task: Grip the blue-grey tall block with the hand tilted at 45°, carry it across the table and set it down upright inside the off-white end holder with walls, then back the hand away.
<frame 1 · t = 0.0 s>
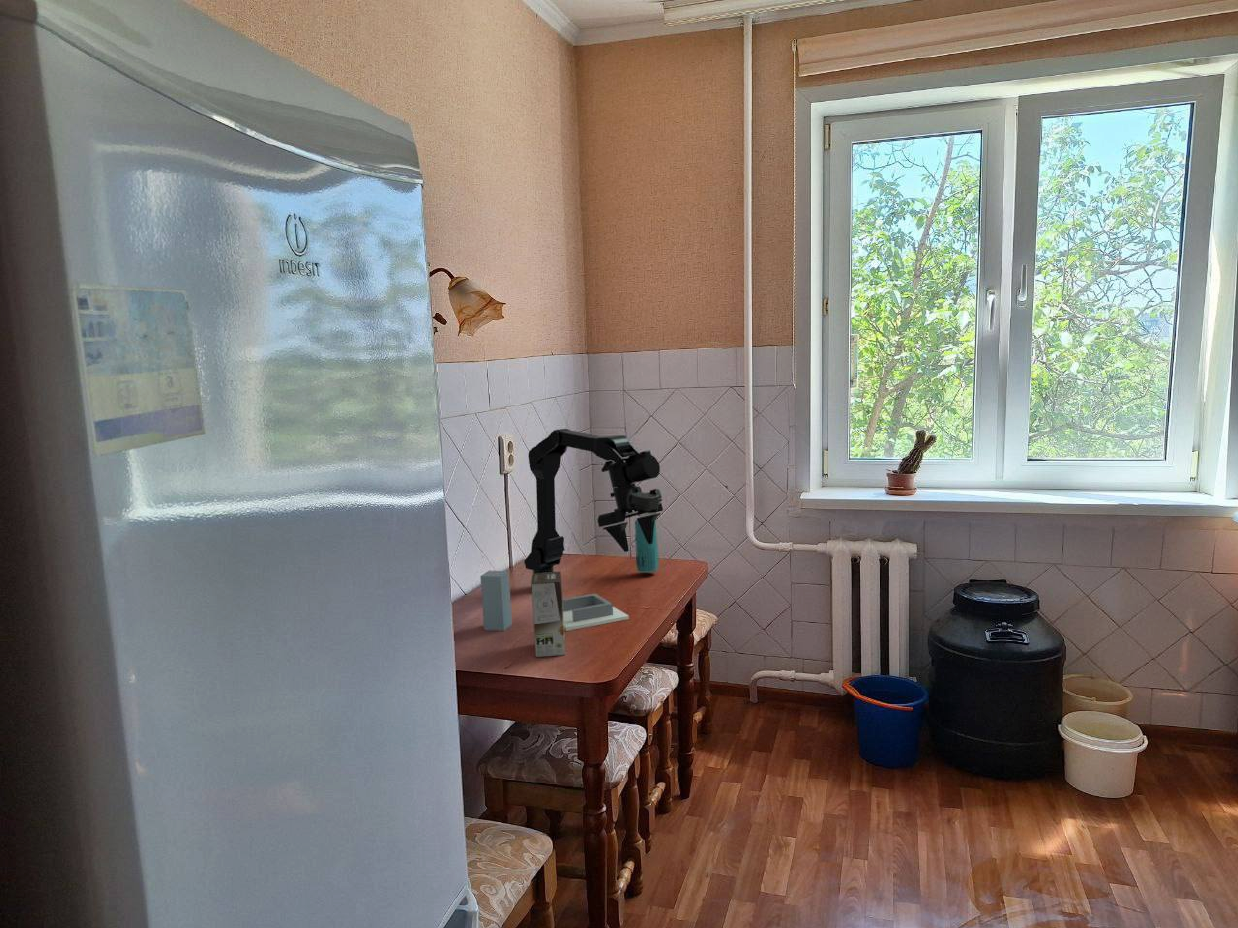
hand: (638, 547, 203), 15 cm above the table, tool pointing down, fingers open, 9 cm apart
coffee box: (550, 650, 179), on the table
end holder: (585, 615, 201), on the table
blue-grey tall block: (498, 626, 196), on the table
beverage bottle: (647, 575, 237), on the table
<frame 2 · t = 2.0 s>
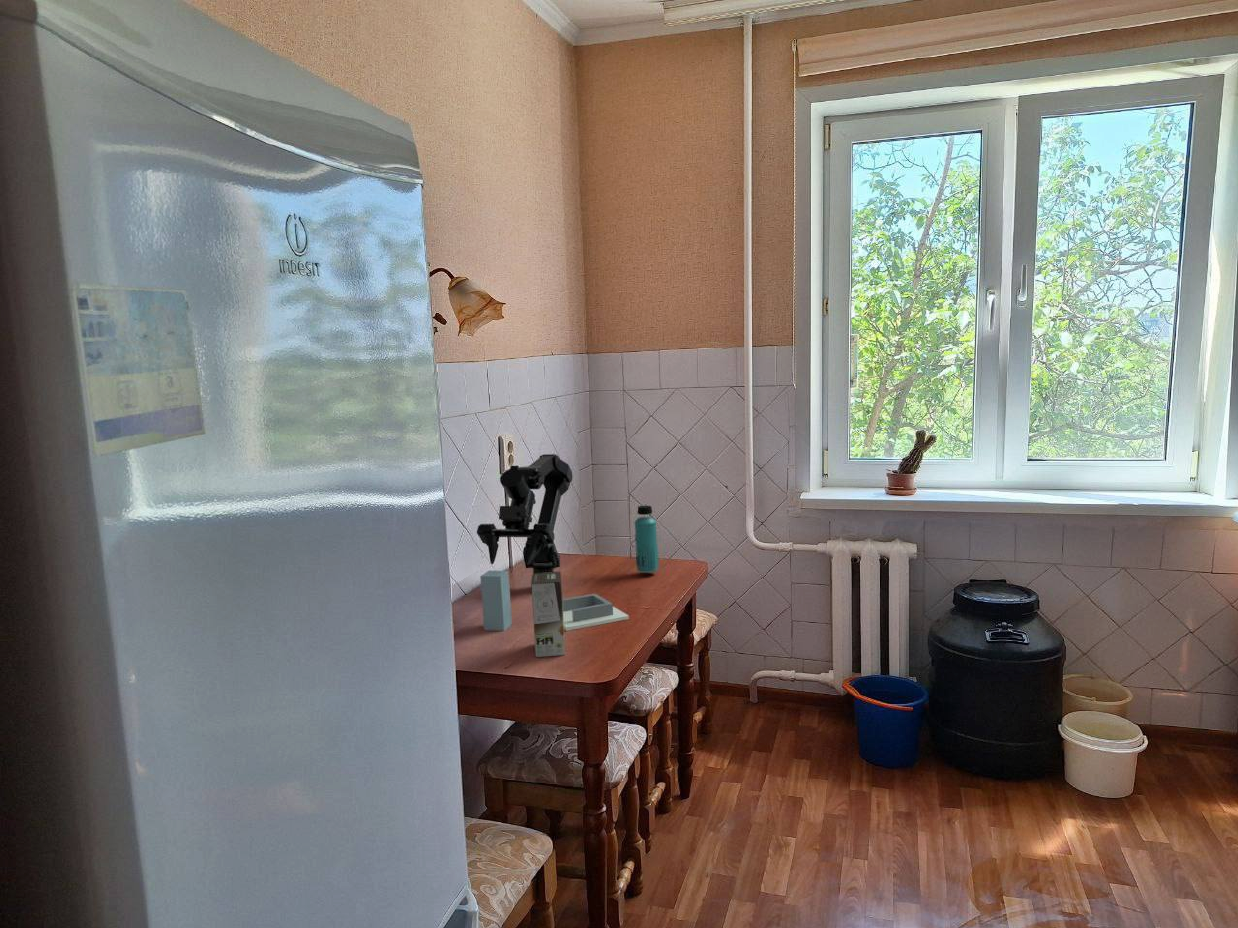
hand: (509, 563, 201), 13 cm above the table, tool tilted 45°, fingers open, 9 cm apart
nothing on the table moved.
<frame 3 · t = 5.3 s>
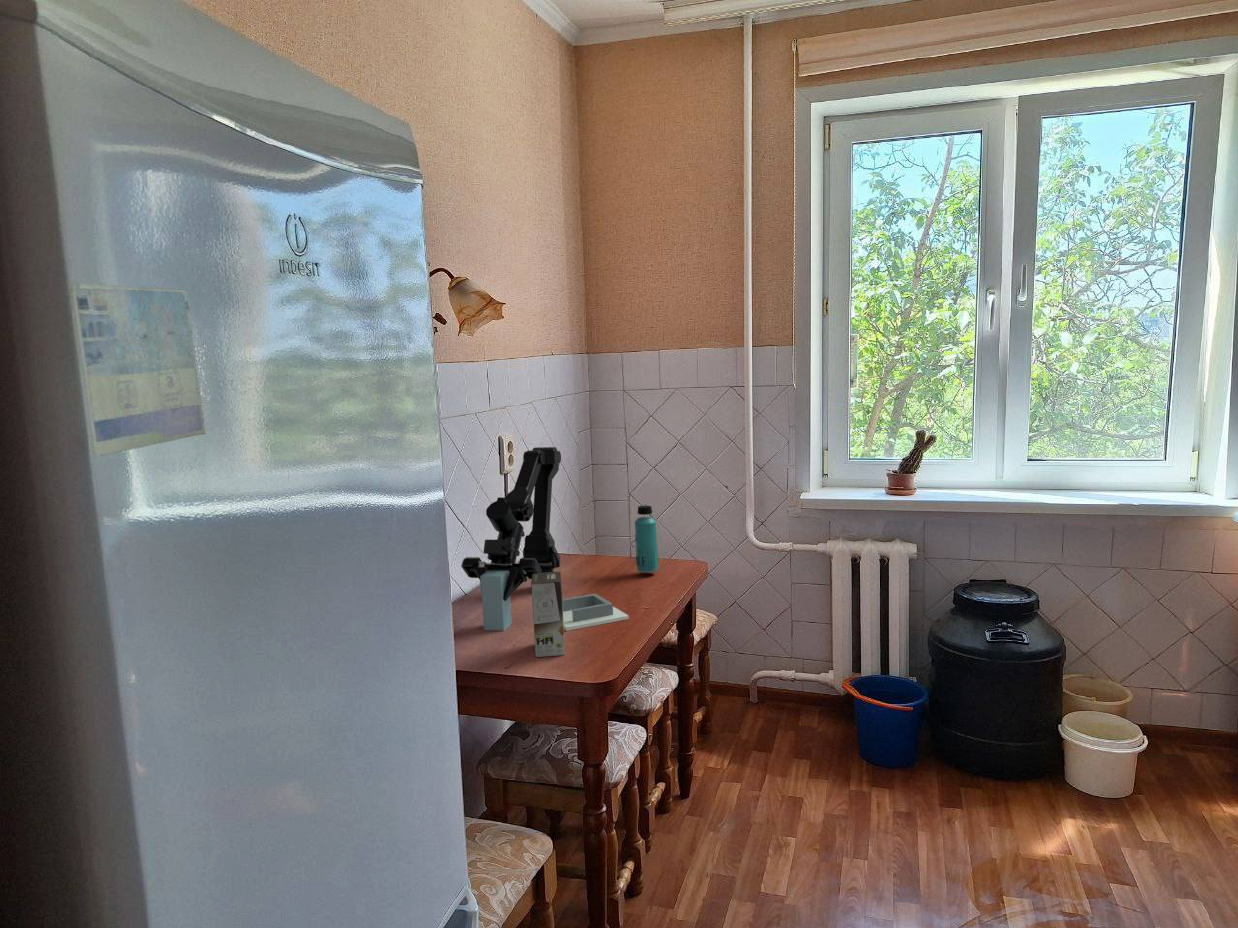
hand: (493, 599, 194), 7 cm above the table, tool tilted 45°, fingers closed on blue-grey tall block, 5 cm apart
blue-grey tall block: (498, 626, 196), on the table, touching gripper
everything else where it was.
when the fingers open (9 cm above the table, at t = 10.0 s): blue-grey tall block stays where it is, resting on end holder.
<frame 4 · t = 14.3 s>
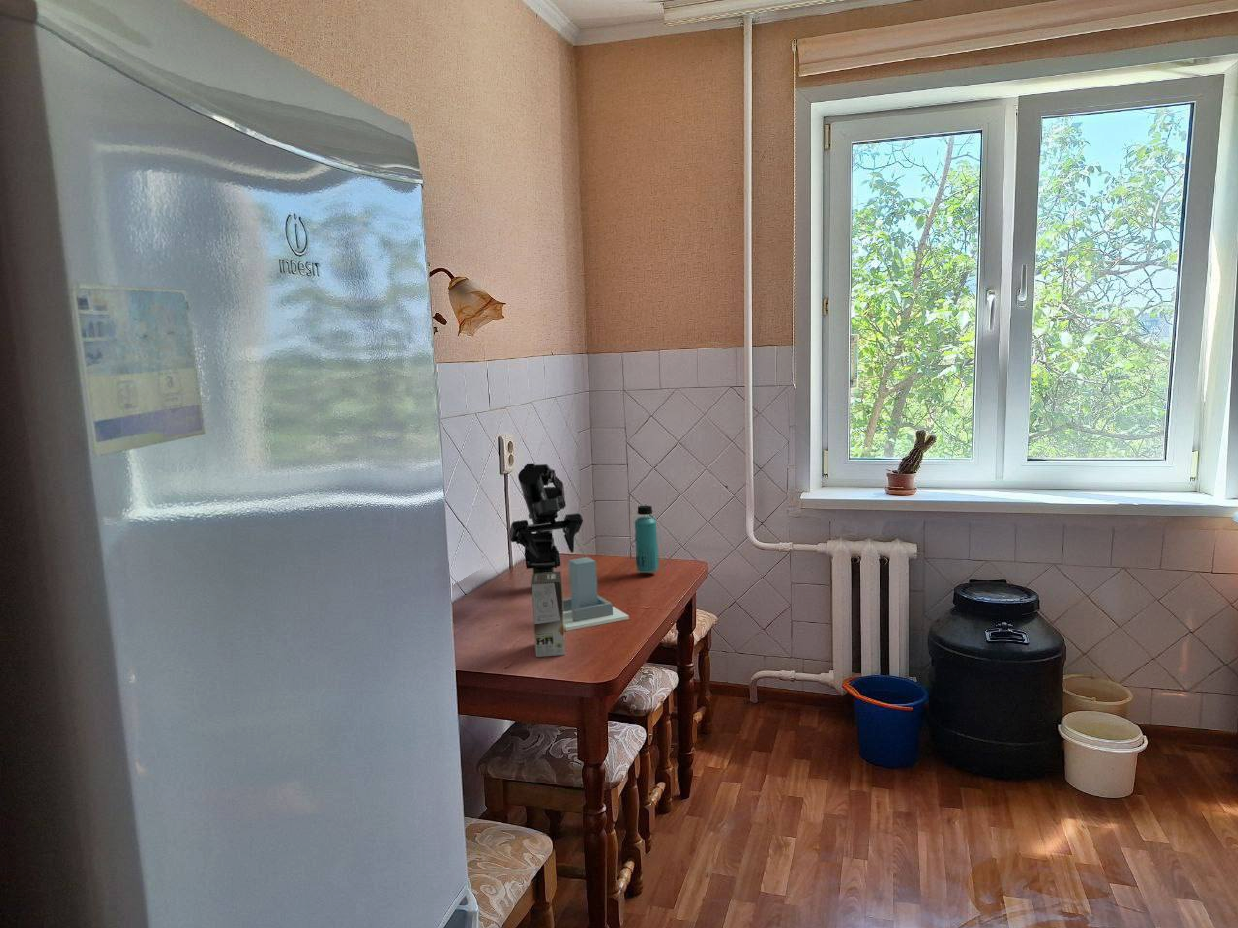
hand: (555, 554, 208), 14 cm above the table, tool tilted 45°, fingers open, 9 cm apart
blue-grey tall block: (585, 612, 201), point 1 cm above the table, touching end holder
everything else where it was.
at the end: blue-grey tall block 0.0 cm off-centre on the end holder, point 0.8 cm above the end holder's base; blue-grey tall block tilted 0°; the gripper is holding nothing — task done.
